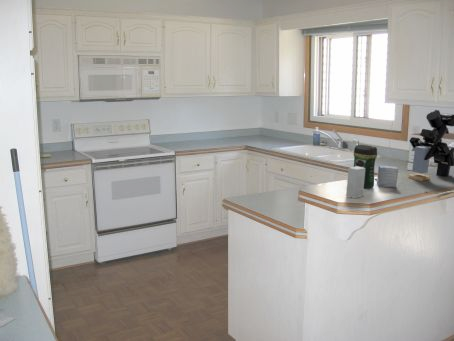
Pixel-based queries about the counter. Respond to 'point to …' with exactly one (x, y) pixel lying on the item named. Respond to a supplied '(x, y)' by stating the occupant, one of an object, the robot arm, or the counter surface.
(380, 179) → the medicine box
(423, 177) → the top slab
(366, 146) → the coffee jar
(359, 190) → the skincare box
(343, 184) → the counter surface
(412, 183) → the counter surface
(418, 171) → the slate block
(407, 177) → the bottom slab
